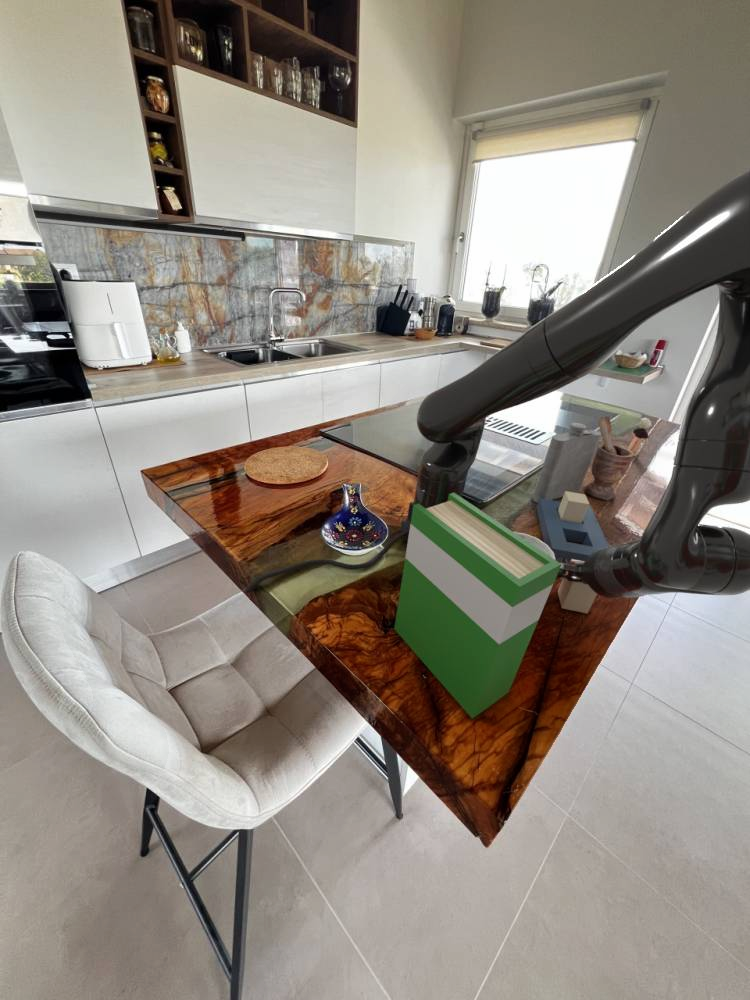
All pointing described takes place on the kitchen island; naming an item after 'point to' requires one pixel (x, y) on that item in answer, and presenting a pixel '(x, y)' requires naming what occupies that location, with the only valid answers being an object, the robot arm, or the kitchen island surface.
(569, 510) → the beige wooden block
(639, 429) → the grandmother figurine
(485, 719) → the kitchen island surface
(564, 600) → the beige block
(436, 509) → the hardback book
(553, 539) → the holder
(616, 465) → the mortar and pestle
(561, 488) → the hip flask
